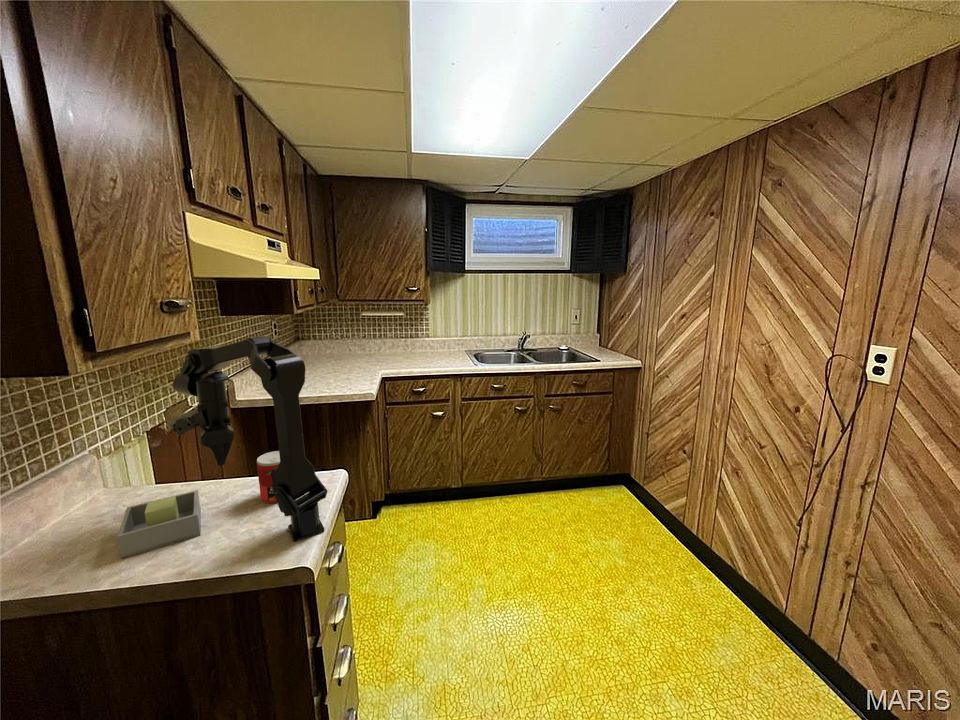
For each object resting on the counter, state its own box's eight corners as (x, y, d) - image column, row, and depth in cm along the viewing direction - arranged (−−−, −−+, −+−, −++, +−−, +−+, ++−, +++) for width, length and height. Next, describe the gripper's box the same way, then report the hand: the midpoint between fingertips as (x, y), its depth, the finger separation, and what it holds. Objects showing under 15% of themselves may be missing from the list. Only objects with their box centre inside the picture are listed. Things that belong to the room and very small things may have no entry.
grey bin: (200, 535, 85) (197, 514, 84) (121, 559, 78) (117, 536, 77) (200, 508, 95) (197, 490, 94) (130, 527, 88) (127, 507, 87)
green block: (178, 530, 86) (174, 505, 85) (148, 538, 83) (144, 513, 82) (179, 519, 90) (175, 496, 89) (151, 527, 87) (147, 502, 86)
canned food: (269, 507, 96) (265, 466, 94) (255, 497, 101) (250, 457, 99) (299, 494, 102) (295, 455, 100) (284, 485, 107) (280, 448, 105)
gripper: (172, 395, 96) (181, 453, 99) (167, 414, 81) (178, 483, 84) (225, 388, 102) (232, 443, 105) (230, 405, 87) (238, 469, 90)
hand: (220, 458), depth 96 cm, fingers open, 9 cm apart
